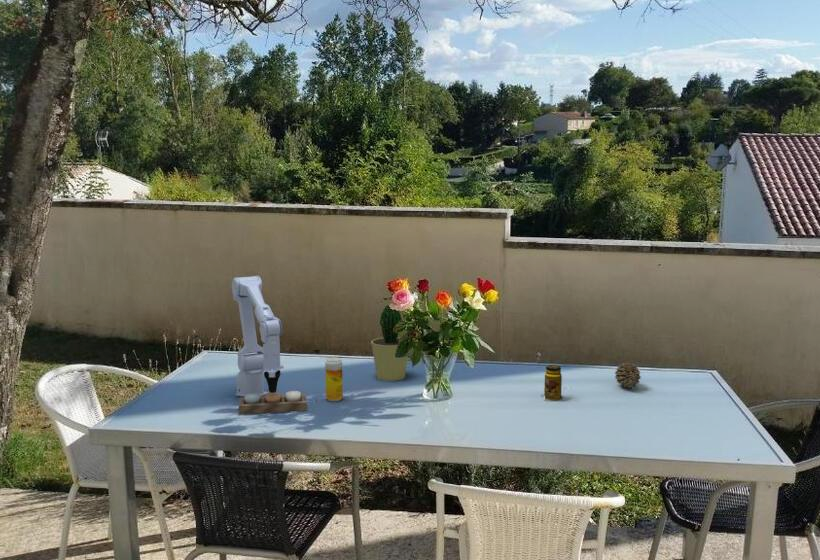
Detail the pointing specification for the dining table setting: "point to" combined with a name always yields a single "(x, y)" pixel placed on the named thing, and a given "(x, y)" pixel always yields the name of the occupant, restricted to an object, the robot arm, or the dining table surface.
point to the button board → (272, 406)
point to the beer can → (334, 379)
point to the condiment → (553, 383)
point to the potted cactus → (388, 348)
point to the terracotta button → (272, 397)
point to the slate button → (252, 398)
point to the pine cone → (627, 375)
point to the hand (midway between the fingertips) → (272, 392)
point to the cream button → (293, 396)
